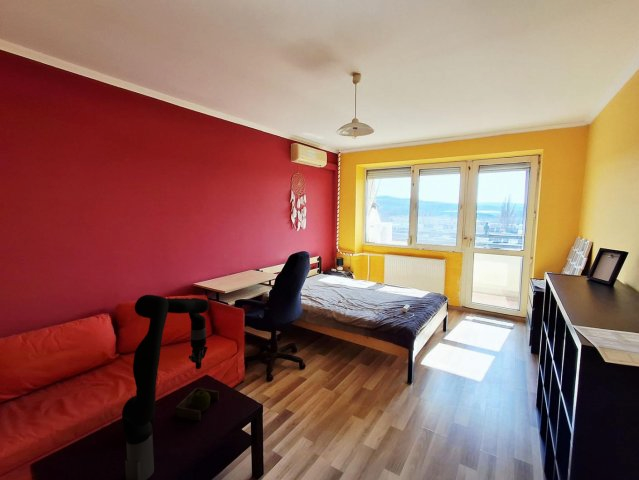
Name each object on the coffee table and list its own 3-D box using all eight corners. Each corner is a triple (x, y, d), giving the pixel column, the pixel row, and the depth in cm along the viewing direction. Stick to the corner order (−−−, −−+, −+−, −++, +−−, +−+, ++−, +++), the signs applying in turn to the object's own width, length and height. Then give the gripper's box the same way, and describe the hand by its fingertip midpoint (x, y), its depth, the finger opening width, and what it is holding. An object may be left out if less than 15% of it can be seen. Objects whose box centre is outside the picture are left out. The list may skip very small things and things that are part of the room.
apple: (210, 413, 159) (209, 394, 158) (190, 417, 156) (190, 398, 155) (210, 402, 169) (210, 384, 168) (192, 405, 166) (191, 387, 164)
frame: (199, 420, 154) (199, 411, 153) (175, 416, 157) (175, 407, 156) (218, 399, 171) (218, 391, 171) (196, 395, 174) (196, 387, 174)
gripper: (196, 342, 145) (196, 376, 147) (212, 332, 158) (212, 363, 160) (183, 340, 147) (183, 373, 149) (200, 330, 160) (200, 361, 161)
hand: (198, 368), depth 154 cm, fingers closed
